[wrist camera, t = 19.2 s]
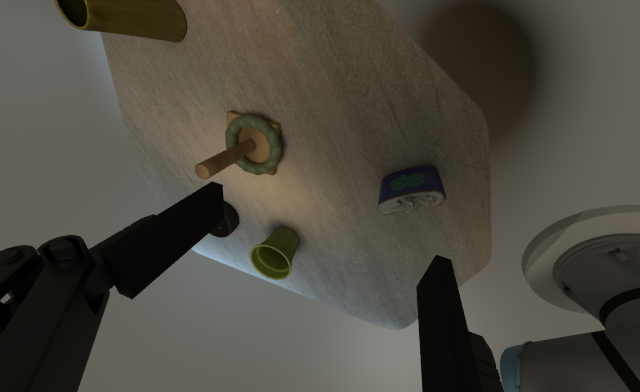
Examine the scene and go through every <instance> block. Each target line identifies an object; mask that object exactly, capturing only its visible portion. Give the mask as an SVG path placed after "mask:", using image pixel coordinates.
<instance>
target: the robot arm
mask: <svg viewBox="0 0 640 392" xmlns="http://www.w3.org/2000/svg"><path fill="white" fill-rule="evenodd" d="M224 219H225V214H224V200H223V185H221V184H218V183H215V182H210V183H209V184H207V185H205V186H204V187H202V188H201V189H199V190H197V191H196V192H194V193H192V194H191V195H189V196H187V197H186V198H184V199H183V200H181V201H179V202H178V203H176V204H174V205H173V206H171V207H170V208H168V209H166V210H165V211H163V212H161V213H160V214H158V215H154V214H153V215H150V216H147V217H144V218H141V219H140V220H138V221H136V222H134V223H133V224H131V226H128V227H126V228H124V229H123V230H122V231H119V232H118V233H116V234H114V235H112V236H111V237H109V238H107V239H106V240H104V241H102V242H101V243H99V244H97V245H95V246H94V247H92V248H90V249H88V248H87V246H86V244H85V242H84V240H83V239H82V238H81V237H80V236H76V235H67V236H61V237H58V238H55V239H52V240H49V241H48V242H46V243H44V244H42V245H41V246H40V247H39V248H38V249H37V251H38V252H39V253H40V255H39V254H38V252H37V251H36V249H35V248H33V247H32V246H28V245H22V246H15V247H11V248H7V249H5V250H2V251H0V300H1V299H2V298H3V297H4V296H5V295H6V294H7V293H8V295H9V296H10V297H11V298H10V299H9V300H8V301H6V302H5V303H4V304H3V303H1V301H0V392H77V391H78V388H79V385H80V382H81V379H82V376H83V373H84V370H85V367H86V364H87V361H88V358H89V355H90V352H91V349H92V346H93V343H94V340H95V337H96V334H97V331H98V329H99V326H100V323H101V319H102V317H103V314H104V311H105V308H106V305H107V302H108V299H109V295H110V291H109V289H110V288H112V287H113V286H114V285H115V286H116V288H117V290H118V292H119V293H120V294H122V295H124V296H126V297H129V298H130V299H133V298H134V297H135V296H137V294H139V293H140V292H141V291H142V290H144V289H145V288H146V287H147V286H148V285H149V284H150V283H152V282H153V281H154V280H155V279H156V278H157V277H159V276H160V275H161V274H162V273H163V272H164V271H165V270H167V269H168V268H169V267H170V266H171V265H172V264H174V263H175V262H176V261H177V260H178V259H179V258H180V257H182V256H183V255H184V254H185V253H186V252H187V251H188V250H189V249H191V248H192V247H193V246H194V245H195V244H197V243H198V242H199V241H200V240H201V239H202V238H204V237H205V236H206V235H207V234H208V233H209V232H210V231H212V230H213V229H214V228H215V227H216V226H217V225H219V224H220V223H221V222H222V221H223V220H224ZM553 278H554V280H555V282H556V284H557V285H558V286H559V288H560V289H561V291H562V292H563V293H564V294H565V295H566V296H567V297H568V298H570V299H571V300H572V301H574V302H575V303H576V304H578V305H579V306H580V307H582V308H583V309H584V310H586V311H587V312H588V313H590V314H591V315H593V316H594V317H595V318H597V319H598V320H599V321H600V322H601V323H602V325H603V326H604V327H605V328H606V330H602V331H597V332H591V333H584V334H578V335H572V336H567V337H560V338H555V339H549V340H542V341H537V342H532V341H529V342H525V343H524V344H522V345H518V346H513V347H509V348H507V349H505V350H504V352H503V354H502V355H501V359H500V372H501V378H502V382H503V386H504V389H503V386H502V383H501V381H500V377H499V373H498V370H497V369H496V363H495V360H494V357H493V354H492V351H491V349H490V348H489V346H488V344H487V343H486V341H485V340H484V338H483V337H482V336H480V335H477V334H475V333H472V332H469V331H468V327H467V323H466V319H465V315H464V311H463V307H462V303H461V299H460V294H459V290H458V286H457V282H456V278H455V274H454V270H453V266H452V262H451V259H448V258H445V257H442V256H439V255H436V256H435V257H434V259H433V261H432V262H431V264H430V266H429V267H428V269H427V271H426V272H425V274H424V275H423V277H422V279H421V280H420V282H419V284H418V285H417V287H416V288H417V305H418V322H419V337H420V338H419V339H420V355H421V374H422V391H423V392H504V390H505V392H640V234H631V233H622V234H611V235H604V236H599V237H595V238H592V239H589V240H586V241H583V242H581V243H579V244H577V245H575V246H573V247H571V248H569V249H568V250H567V251H565V252H564V253H563V254H562V255H561V256H560V257H559V258H558V259H557V261H556V262H555V264H554V267H553Z"/></svg>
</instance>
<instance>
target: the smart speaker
mask: <svg viewBox="0 0 640 392" xmlns="http://www.w3.org/2000/svg"><path fill="white" fill-rule="evenodd" d="M224 214H225V219H224V220H223V221H222V222H221V223H220V224H219V225H217V226H216V227H215V228H214V229H213V230H212V231H210V232H209V233H210V234H212V235H213V236H216V237H227V236H229V235H230V234H231V233H232V232H233V231H234V230H235V229H236V228H237V225H238V218H237V215H236V213H235V212H234V210H233V209H232V208H231V207H230V206H229V205H227V204H226V203H224Z"/></svg>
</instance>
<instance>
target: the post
mask: <svg viewBox="0 0 640 392" xmlns="http://www.w3.org/2000/svg"><path fill="white" fill-rule="evenodd" d="M242 115H245V114H242V113H239V112H235V111H229V112H227V127H228V126H229V124H230V123H231V121H232V120H233V119H234V118H237V117H239V116H242ZM265 121H266V122H267V123H268V124H269V125H270V126H271V127H272V128H273V129H274V130H275V131H276V134H277V136H278V139H279V136H280V124H279V123H275V122H272V121H268V120H265ZM269 153H270V147H269V144H268V142H267V139H266V137H265V136H264V135H263V134H262V133H261V132H260V131H259V130H258V129H255V128H252V127H245V128H242V129H241V130H240V131H239V133H238V135H237V145H235V146H233V147H231V148H229V149H227V150H225V151H223V152H221V153H219V154H217V155H215V156H213V157H211V158H209V159H207V160H205V161H203V162H201V163H199V164H197V165H196V166H195V172H196V174H197V175H198V176H199V177H200V178H202V179H208V178H210V177H211V176H213V175H215V174H216V173H218V172H220V171H221V170H223V169H225V168H226V167H228V166H230V165H232V164H233V163H235V162H237V161H238V160H240V159H242V158H243V157H245V158H246V159H247V160H248V161H249V162H252V163H255V164H261V163H265V162H266V160H267V159H268V158H269ZM235 164H236V163H235ZM276 172H277V166H276V167H275V168H274V169H273V170H272V171H271V172H269V173H266V174H270V175H274V174H276Z"/></svg>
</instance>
